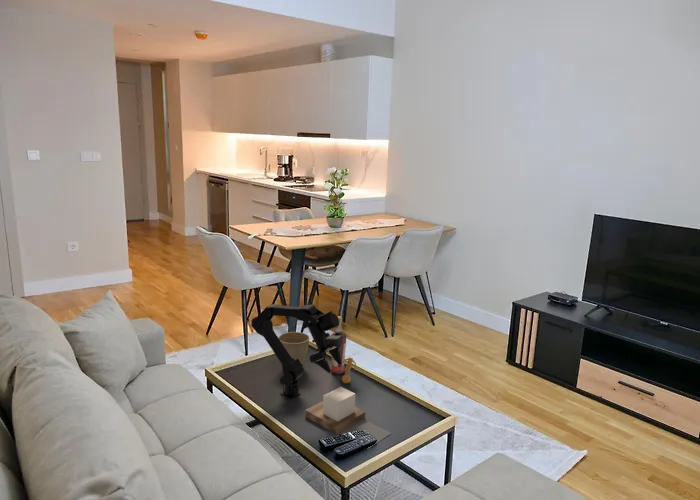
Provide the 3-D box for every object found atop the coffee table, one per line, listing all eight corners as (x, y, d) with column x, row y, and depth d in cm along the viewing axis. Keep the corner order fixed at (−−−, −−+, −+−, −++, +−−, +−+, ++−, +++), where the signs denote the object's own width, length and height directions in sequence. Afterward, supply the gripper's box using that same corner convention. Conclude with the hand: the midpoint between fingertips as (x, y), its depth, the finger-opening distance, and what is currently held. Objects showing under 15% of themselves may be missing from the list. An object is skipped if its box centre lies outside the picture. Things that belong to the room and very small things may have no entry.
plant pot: (315, 369, 247) (315, 338, 243) (290, 378, 237) (290, 346, 234) (297, 359, 258) (297, 329, 254) (272, 367, 248) (272, 336, 245)
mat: (339, 433, 194) (339, 433, 194) (363, 419, 204) (363, 419, 204) (367, 449, 185) (367, 448, 185) (391, 433, 195) (391, 433, 195)
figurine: (336, 381, 235) (337, 357, 233) (344, 377, 240) (345, 353, 237) (350, 387, 230) (351, 362, 228) (358, 382, 235) (359, 358, 232)
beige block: (323, 413, 202) (323, 395, 200) (340, 404, 209) (340, 386, 208) (337, 421, 197) (338, 402, 195) (354, 411, 204) (355, 393, 202)
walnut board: (305, 416, 205) (305, 410, 204) (332, 402, 217) (333, 396, 216) (337, 434, 193) (337, 427, 193) (365, 418, 205) (365, 411, 204)
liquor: (347, 374, 242) (349, 318, 236) (332, 376, 240) (334, 320, 234) (342, 368, 249) (343, 313, 243) (328, 370, 247) (329, 315, 240)
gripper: (323, 335, 198) (340, 371, 198) (344, 320, 215) (360, 354, 215) (301, 344, 204) (318, 379, 203) (323, 329, 220) (339, 362, 220)
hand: (335, 368), depth 210 cm, fingers open, 9 cm apart
